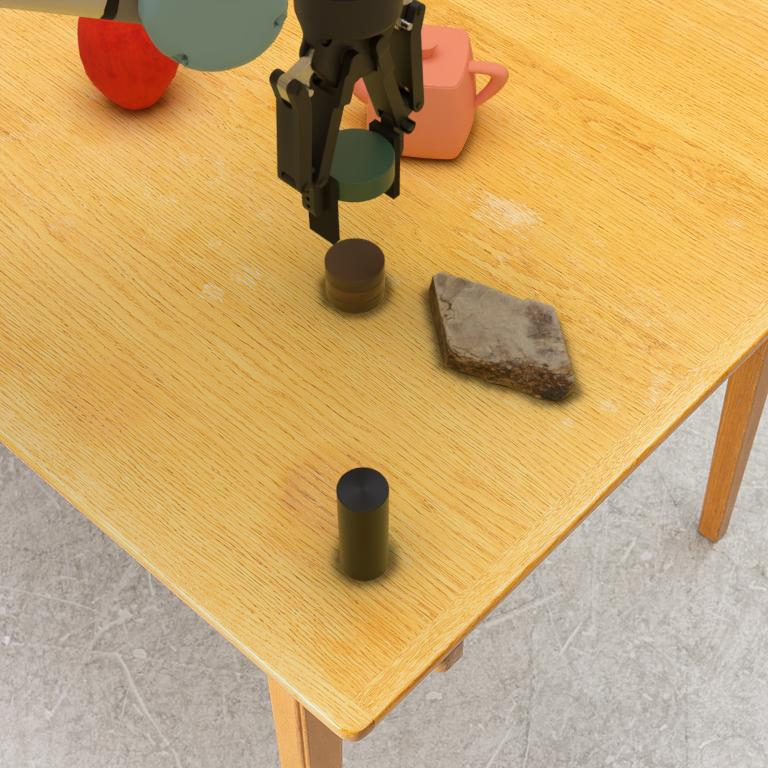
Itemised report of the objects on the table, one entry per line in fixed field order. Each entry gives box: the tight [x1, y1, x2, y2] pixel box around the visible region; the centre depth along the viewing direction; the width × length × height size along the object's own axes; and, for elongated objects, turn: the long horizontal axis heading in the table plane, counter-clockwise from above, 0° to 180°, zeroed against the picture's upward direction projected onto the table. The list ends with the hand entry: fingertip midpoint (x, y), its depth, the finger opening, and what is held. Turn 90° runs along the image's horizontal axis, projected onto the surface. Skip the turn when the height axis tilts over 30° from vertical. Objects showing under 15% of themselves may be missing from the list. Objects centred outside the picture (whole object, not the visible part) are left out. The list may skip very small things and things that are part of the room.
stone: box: [428, 271, 576, 402], centre depth 99 cm, size 15×8×3 cm, turn 68°
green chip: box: [330, 127, 395, 203], centre depth 92 cm, size 6×6×2 cm
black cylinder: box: [335, 466, 390, 582], centre depth 84 cm, size 4×4×10 cm
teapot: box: [352, 23, 510, 160], centre depth 113 cm, size 12×18×10 cm, turn 81°
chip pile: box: [323, 237, 386, 314], centre depth 102 cm, size 5×5×4 cm
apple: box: [76, 17, 180, 111], centre depth 115 cm, size 10×10×12 cm
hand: (355, 211), depth 96 cm, fingers closed on green chip, 6 cm apart
